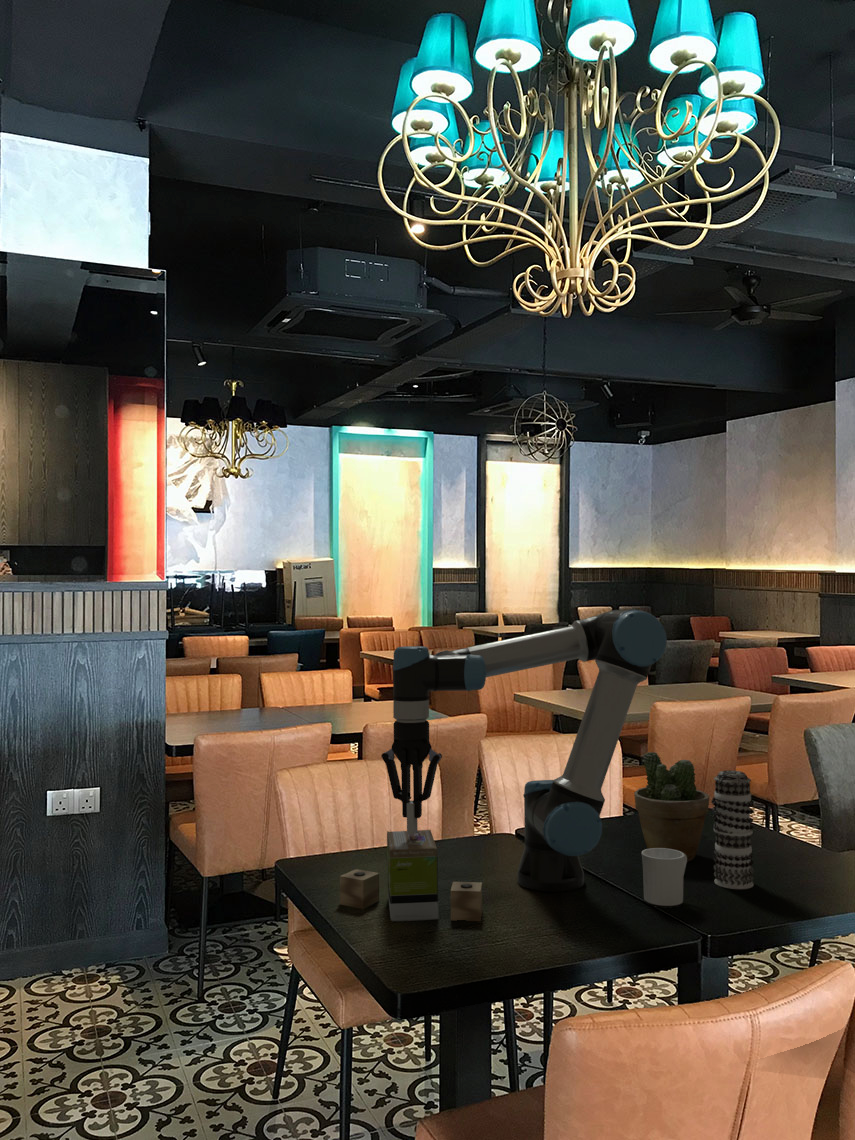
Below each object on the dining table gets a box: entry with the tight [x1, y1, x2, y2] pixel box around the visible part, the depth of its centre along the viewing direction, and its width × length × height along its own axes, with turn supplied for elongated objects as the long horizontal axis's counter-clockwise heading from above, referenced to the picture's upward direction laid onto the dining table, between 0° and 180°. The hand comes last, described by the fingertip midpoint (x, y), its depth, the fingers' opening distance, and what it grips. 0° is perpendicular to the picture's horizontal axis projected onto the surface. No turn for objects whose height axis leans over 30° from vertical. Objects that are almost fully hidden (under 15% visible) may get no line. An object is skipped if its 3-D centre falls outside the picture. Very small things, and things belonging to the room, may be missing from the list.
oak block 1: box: [339, 868, 380, 910], centre depth 200 cm, size 6×6×6 cm
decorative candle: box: [710, 769, 755, 890], centre depth 213 cm, size 9×9×25 cm
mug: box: [641, 848, 688, 909], centre depth 200 cm, size 11×9×10 cm
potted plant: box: [634, 751, 710, 862], centre depth 236 cm, size 18×19×25 cm
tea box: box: [386, 829, 439, 922], centre depth 196 cm, size 15×10×15 cm, turn 5°
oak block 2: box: [450, 881, 483, 922], centre depth 192 cm, size 6×6×6 cm
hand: (412, 833), depth 196 cm, fingers closed
